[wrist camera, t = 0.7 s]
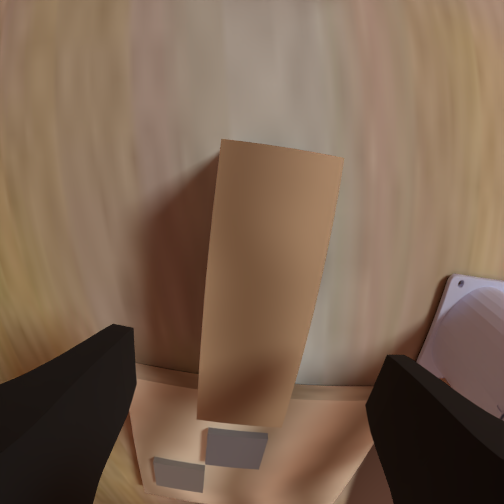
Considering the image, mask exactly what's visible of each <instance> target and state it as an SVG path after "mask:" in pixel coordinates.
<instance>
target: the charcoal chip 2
mask: <svg viewBox="0 0 504 504" xmlns="http://www.w3.org/2000/svg"><path fill="white" fill-rule="evenodd" d="M267 441H268V433H259V432H247V431H236V430H227V429H218V428H210V427H208V435H207V447H206V459H205V465H213V466H221V467H231V468H242V469H257V470H259V467H260V464H261V461H262V458H263V454H264V451H265V448H266V445H267Z"/></svg>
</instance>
